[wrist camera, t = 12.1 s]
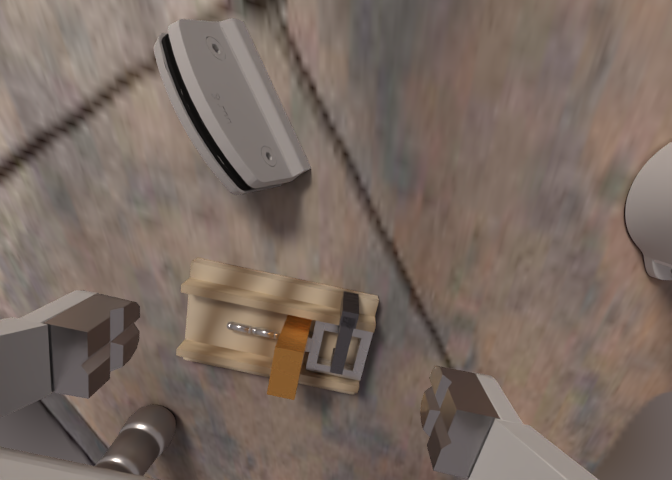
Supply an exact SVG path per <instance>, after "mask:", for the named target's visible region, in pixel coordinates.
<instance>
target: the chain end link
mask: <svg viewBox="0 0 672 480" xmlns="http://www.w3.org/2000/svg"><path fill="white" fill-rule="evenodd" d="M311 322H312V320H311V319H306V318H301V317H297V316H292V315H287V318H286V321H285V323H284V326H283V328H282V331H281V333H280V336H279V332H278V331H275V330H270V329H266V328H261V327H254V328H253V326H251V325H246V324H242V323H237V322H232V321H230V322H228V323H227V325H226V326H227V329H229V330H234V331H238V332H243V333H248V334H251V333H253V334H254V335H258V336H262V337H267V338H272V339H277V338H278V337H279V338H278V341H277V343H276V346H275V350H274V356H273V362H272V367H271V373H270V379H269V385H268V391H267V394H268V395H273V396H278V397H283V398H287V399H292V400H294V399H295V394H296V390H297V386H298V382H299V377H300V373H301V369H302V365H303V360H304V356H305V351H306V352H309V356H308V360H307V365H306V370H310V371H315V372H320V373H325V374H329V375H334V376H339V377H344V378H349V379H353V380H358V381H360V379H361V376H362V372H363V368H364V365H365V361H366V357H367V354H368V350H369V346H370V343H371V339H372V335H373V332H368V331H363V330H359V329H354V330H353V334H352V336H353V337H358V338H360V339H359V343H358V347H357V351H356V354H355V358H354V362H353V365H351V364H347V363H345V365H344V369H343V373H342V375H340V374H335V373H331V372H330V364H331V360H327V359H323V358H318V355H319V351H320V346H321V342H322V337H323V333H324V330H325V331H329V332H334V333H339V328H340V326H339V325H335V324H330V323H325V322H320V321H316V322H315V327H314V332H313V333H312V332H310V327H311Z"/></svg>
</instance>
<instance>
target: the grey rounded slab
mask: <svg viewBox="0 0 672 480" xmlns="http://www.w3.org/2000/svg"><path fill="white" fill-rule="evenodd" d="M154 53H155V57H156V61H157V65H158V68H159V72H160V75H161V78H162V81H163V84H164V86H165V89H166V91H167V94H168V96H169V99H170V101H171V103H172V106H173V108H174V110H175V112H176V114H177V116H178V118H179V120H180V122H181V124H182V126H183V127H184V129H185V131H186V133H187V134H188V136H189V138H190V139H191V141H192V143H193V144H194V146H195V147H196V149H197V150H198V152H199V153H200V155H201V156H202V158H203V159H204V161H205V162H206V163H207V165H208V166H209V167H210V169H211V170H212V171H213V173H214V174H215V175H216V176H217V177H218V179H219V180H220V181H221V182H222V183H223V184H224V186H225V187H226V188H227V189H228V190H229V191H230V192H231V193H232V194H235V195H241V194H246V193H251V192H256V191H260V190H265V189H269V188H274V187H278V186H282V183H286V182H291V181H292V180H294V179H295V178H296V177H298V176H299V175H300V174H302V173H303V172H306V171H308V170H309V169H310V168H311V166H310V164H309V162H308V160H307V158H306V155H305V153H304V151H303V149H302V147H301V145H300V142H299V140H298V138H297V136H296V134H295V132H294V129H293V127H292V125H291V123H290V121H289V119H288V117H287V114H286V112H285V110H284V108H283V106H282V104H281V101H280V99H279V97H278V95H277V93H276V91H275V88H274V86H273V84H272V82H271V80H270V78H269V75H268V73H267V71H266V69H265V67H264V65H263V62H262V60H261V58H260V56H259V54H258V52H257V49H256V47H255V45H254V43H253V41H252V39H251V36H250V34H249V32H248V30H247V28H246V26H245V23H244V21H241V20H238V19H235V18H231V19H227V20H224V21H220V22H212V21H201V20H190V19H180V20H178V21H176V22H175V23H173V24H171V25H169V27H168V34H164V33H163V34H160V35H159V37H158V39H157V41H156V43H155V45H154Z"/></svg>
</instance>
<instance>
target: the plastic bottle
mask: <svg viewBox="0 0 672 480" xmlns="http://www.w3.org/2000/svg"><path fill="white" fill-rule="evenodd" d="M175 431H176V421H175V418H174V416H173V414H172V413H171V412H170V411H169V410H168V409H166V408H165V407H163V406H160V405H154V404H153V405H147V406H144V407H141V408H139V409H138V410H137V411H136V412H135V413H134V414H132V415H131V416H130V417H129V418H128V420H127V421H126V423H125V424H124V426H123V427H122V429H121V431H120V432H119V435H118V436H117V438H116V439H115V441H114V442H113V443H112V445H111V446H110V448H109V449H108V450H107V452H106V453H105V454H104V456H103V457H102V458H101V459H100V461H99V462H98V463H97V464H96V465H95V466H96V467H101V468H106V469H111V470H115V471H120V472H125V473H130V474H135V475H140V476H144V474H145V473H146V472H147V470H148V469H149V468H150V466H151V465H152V464H153V462H154V461H155V460H156V458H158V457H159V456H160V455H161V454H162V453H163V451H164V450H165V449H166V448H167V446H168V445H169V444H170V443H171V441H172V438H173V436H174V434H175Z"/></svg>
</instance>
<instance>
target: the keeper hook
mask: <svg viewBox="0 0 672 480" xmlns="http://www.w3.org/2000/svg"><path fill="white" fill-rule="evenodd" d="M358 317H359V294H356V293H352V292H347V291H344V292H343V297H342V301H341V307H340V320H339V326H340V328H339V333H338V337H337V341H336V345H335V348H333V352H332V356H331V364H330V372H331V373H335V374H340V375H342V373H343V369H344V365H345V361H346V357H347V353H348V349H349V345H350V342H351V338H352V334H353V330H354V329H356V325H357V321H358Z"/></svg>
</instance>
